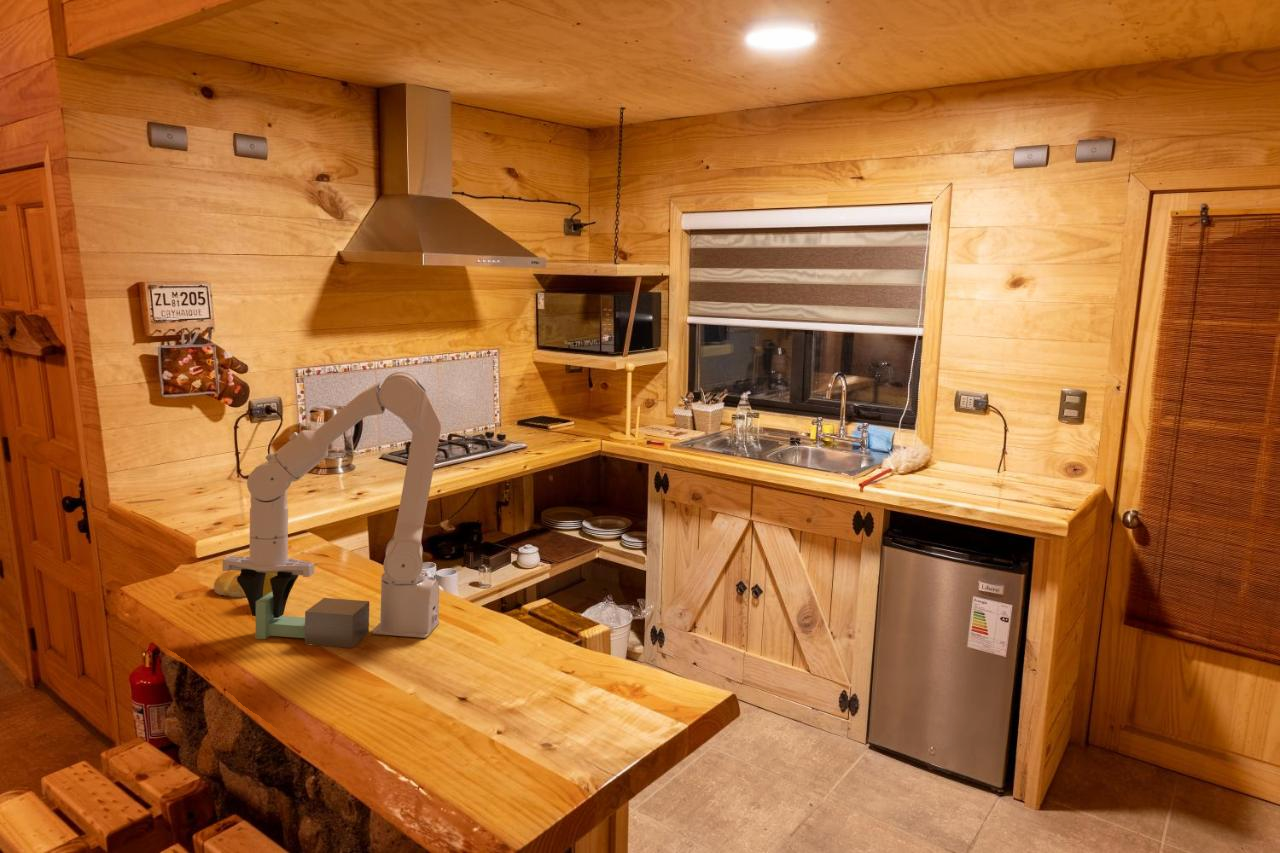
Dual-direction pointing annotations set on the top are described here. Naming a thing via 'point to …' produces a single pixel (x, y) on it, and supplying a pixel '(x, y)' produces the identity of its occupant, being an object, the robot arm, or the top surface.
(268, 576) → the lemon
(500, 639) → the top surface
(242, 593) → the bread roll
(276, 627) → the handle
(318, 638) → the block
